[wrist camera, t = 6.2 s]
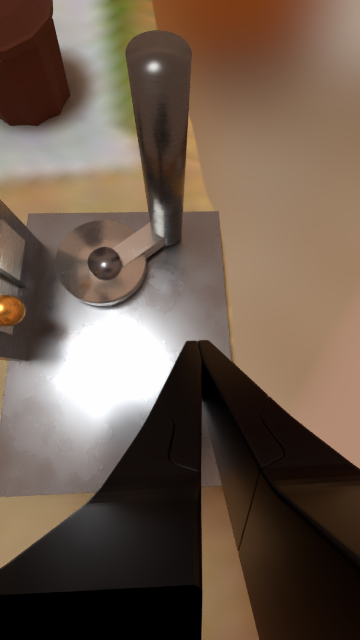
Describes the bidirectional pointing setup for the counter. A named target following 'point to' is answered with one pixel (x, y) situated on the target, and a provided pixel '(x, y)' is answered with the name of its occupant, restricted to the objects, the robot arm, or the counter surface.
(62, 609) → the robot arm
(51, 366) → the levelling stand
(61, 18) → the counter surface
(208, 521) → the counter surface
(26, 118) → the muffin
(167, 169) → the crank handle
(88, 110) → the counter surface
